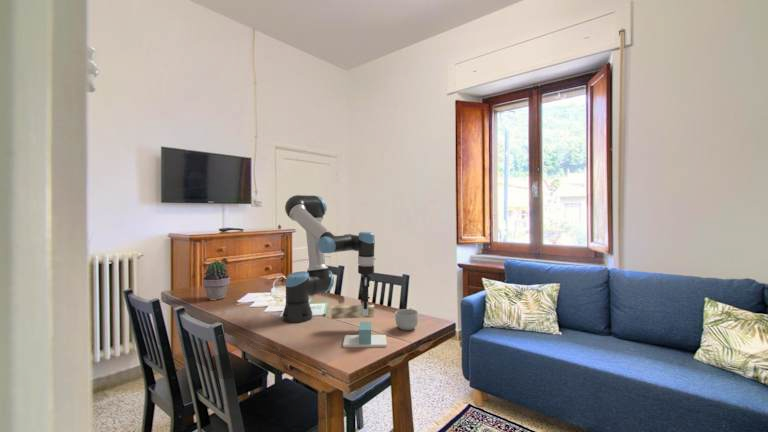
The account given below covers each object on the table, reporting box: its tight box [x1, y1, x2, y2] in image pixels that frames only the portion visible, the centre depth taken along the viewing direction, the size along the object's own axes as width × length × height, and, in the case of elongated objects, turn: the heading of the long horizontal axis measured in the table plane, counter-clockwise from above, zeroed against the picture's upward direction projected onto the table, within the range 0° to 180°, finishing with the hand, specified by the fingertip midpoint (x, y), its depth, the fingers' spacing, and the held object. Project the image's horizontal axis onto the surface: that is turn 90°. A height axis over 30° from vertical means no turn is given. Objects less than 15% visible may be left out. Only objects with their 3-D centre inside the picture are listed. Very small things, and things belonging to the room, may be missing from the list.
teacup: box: [394, 308, 419, 331], centre depth 167 cm, size 14×11×8 cm
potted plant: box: [201, 257, 231, 300], centre depth 218 cm, size 18×20×25 cm
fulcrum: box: [342, 321, 388, 348], centre depth 148 cm, size 18×11×7 cm, turn 92°
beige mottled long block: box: [330, 304, 375, 320], centre depth 164 cm, size 20×4×5 cm, turn 92°
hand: (365, 313), depth 165 cm, fingers closed on beige mottled long block, 3 cm apart
